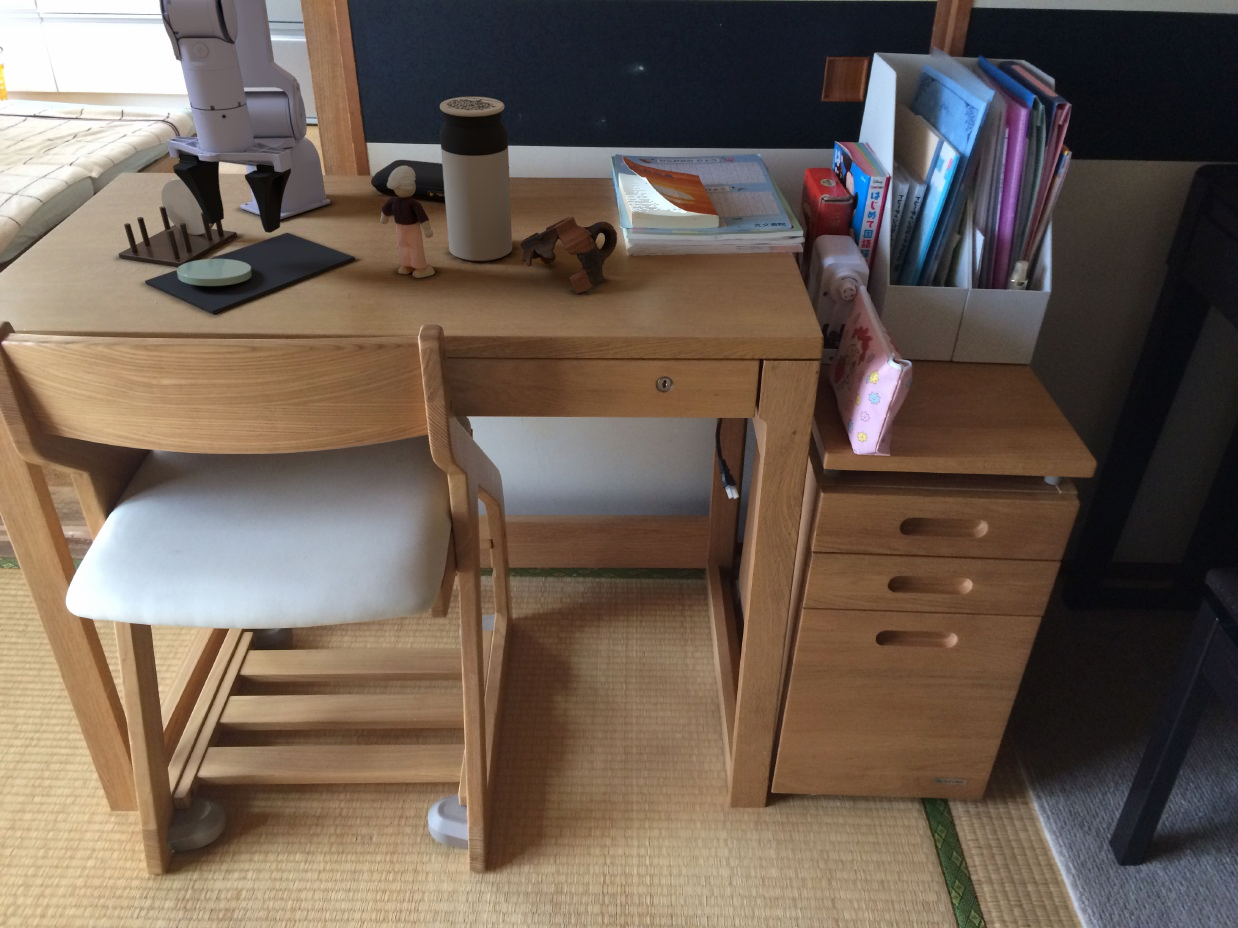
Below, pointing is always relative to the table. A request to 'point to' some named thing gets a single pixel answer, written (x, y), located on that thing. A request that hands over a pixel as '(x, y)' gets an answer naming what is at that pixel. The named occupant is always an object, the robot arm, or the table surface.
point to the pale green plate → (214, 272)
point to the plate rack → (174, 242)
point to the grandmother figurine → (408, 222)
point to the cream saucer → (182, 206)
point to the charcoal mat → (257, 272)
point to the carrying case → (426, 178)
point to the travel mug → (476, 178)
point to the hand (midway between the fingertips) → (244, 225)
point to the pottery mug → (574, 249)
